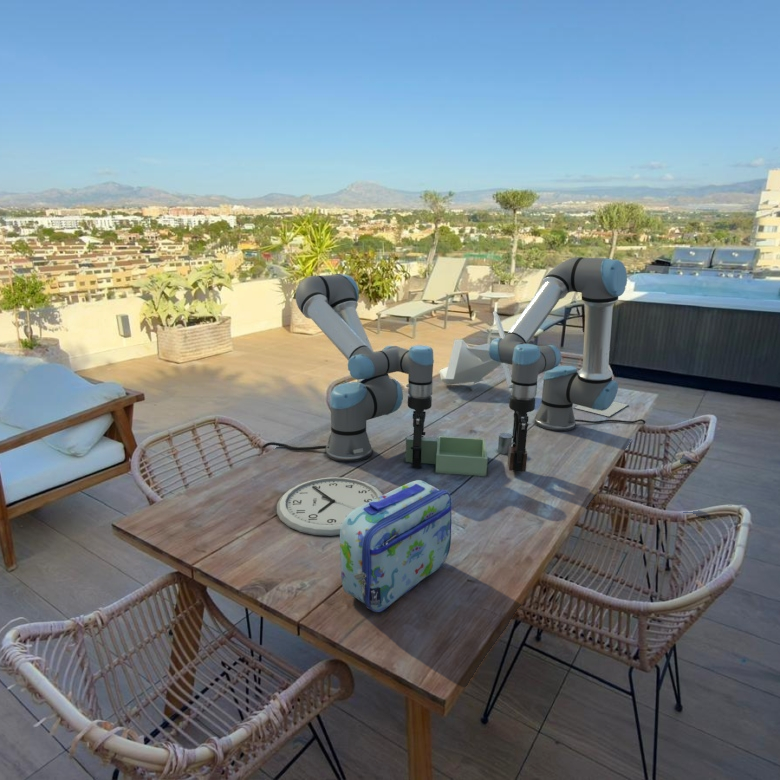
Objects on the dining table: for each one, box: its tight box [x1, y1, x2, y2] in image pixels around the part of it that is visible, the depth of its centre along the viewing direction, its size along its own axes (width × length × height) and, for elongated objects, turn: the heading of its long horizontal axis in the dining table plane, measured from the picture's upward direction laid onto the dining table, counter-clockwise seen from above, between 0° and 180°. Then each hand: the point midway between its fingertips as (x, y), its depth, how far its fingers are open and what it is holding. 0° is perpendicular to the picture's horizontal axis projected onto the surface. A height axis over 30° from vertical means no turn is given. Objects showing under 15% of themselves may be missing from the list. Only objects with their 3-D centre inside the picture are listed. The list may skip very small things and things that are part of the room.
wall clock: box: [276, 476, 385, 537], centre depth 142 cm, size 30×2×30 cm
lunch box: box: [339, 479, 452, 613], centre depth 109 cm, size 26×11×21 cm, turn 134°
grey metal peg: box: [497, 432, 513, 455], centre depth 178 cm, size 4×4×6 cm
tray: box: [405, 435, 489, 477], centre depth 169 cm, size 26×16×8 cm, turn 83°
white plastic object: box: [438, 310, 512, 392], centre depth 245 cm, size 37×45×31 cm
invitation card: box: [573, 400, 629, 418], centre depth 226 cm, size 21×1×15 cm
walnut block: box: [507, 445, 528, 472], centre depth 163 cm, size 5×5×6 cm
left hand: (417, 460), depth 171 cm, fingers open, 9 cm apart
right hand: (516, 466), depth 163 cm, fingers closed on walnut block, 5 cm apart
